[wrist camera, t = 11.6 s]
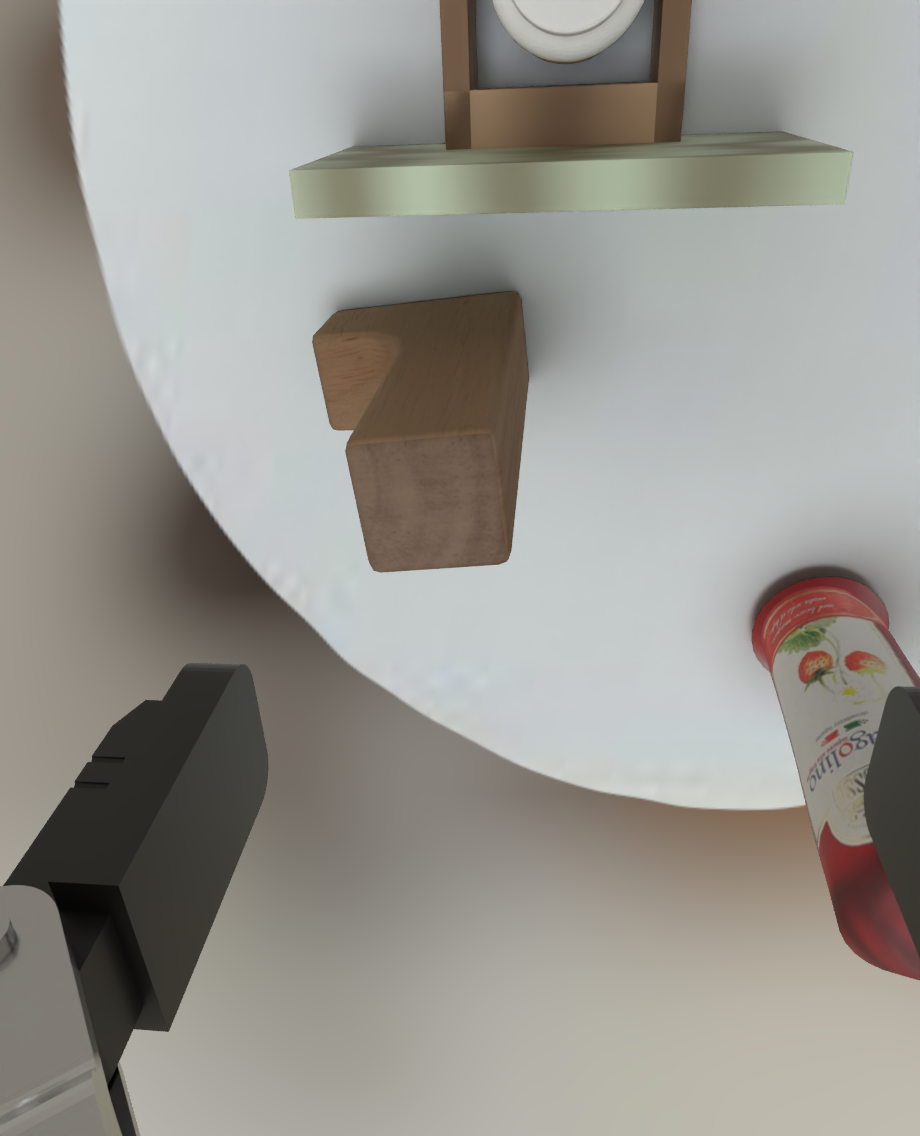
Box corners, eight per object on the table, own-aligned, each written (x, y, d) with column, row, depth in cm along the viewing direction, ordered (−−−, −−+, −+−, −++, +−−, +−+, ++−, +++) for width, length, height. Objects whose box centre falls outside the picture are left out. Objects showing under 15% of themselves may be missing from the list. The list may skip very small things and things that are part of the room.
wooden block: (350, 401, 43) (232, 587, 28) (331, 310, 41) (192, 457, 25) (530, 383, 42) (511, 568, 26) (520, 288, 40) (495, 429, 24)
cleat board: (824, -186, 30) (927, -286, 22) (777, 171, 36) (844, 204, 28) (325, -150, 32) (239, -228, 24) (355, 184, 38) (295, 218, 29)
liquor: (832, 534, 44) (1159, 1096, 20) (913, 623, 46) (1296, 1229, 22) (715, 614, 47) (875, 1185, 23) (795, 695, 49) (1020, 1295, 25)
